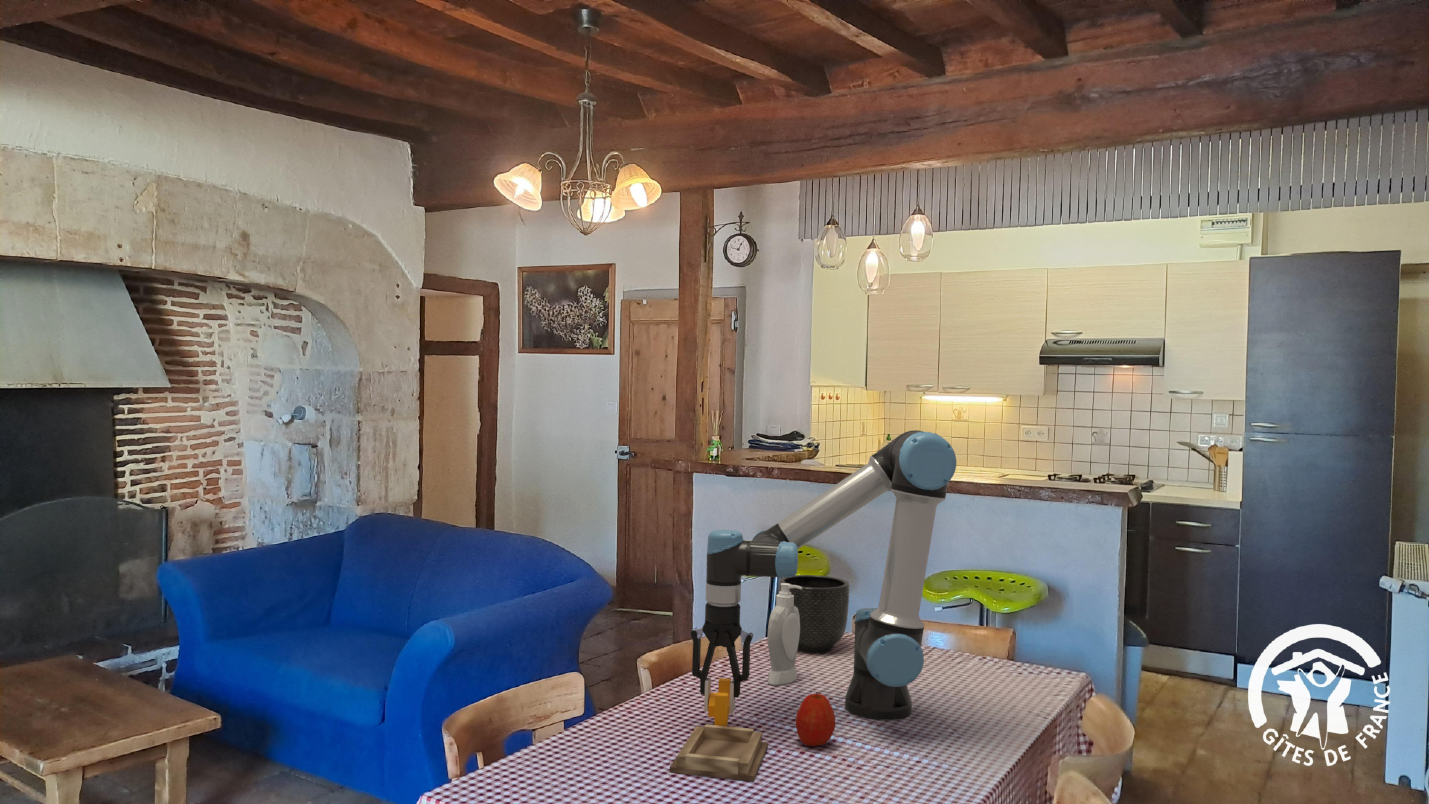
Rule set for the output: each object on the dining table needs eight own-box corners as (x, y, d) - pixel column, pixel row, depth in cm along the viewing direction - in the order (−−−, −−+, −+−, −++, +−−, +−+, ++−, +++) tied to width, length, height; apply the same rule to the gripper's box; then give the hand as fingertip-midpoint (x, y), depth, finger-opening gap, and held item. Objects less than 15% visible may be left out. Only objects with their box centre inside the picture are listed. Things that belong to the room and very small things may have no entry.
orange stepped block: (710, 707, 212) (711, 677, 212) (730, 708, 211) (731, 678, 211) (705, 726, 200) (706, 694, 200) (726, 727, 199) (727, 696, 199)
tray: (767, 747, 197) (768, 730, 197) (753, 781, 179) (754, 763, 179) (691, 739, 200) (691, 722, 200) (669, 772, 182) (670, 754, 182)
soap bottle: (783, 691, 234) (786, 590, 234) (758, 684, 239) (761, 585, 239) (814, 680, 244) (817, 583, 244) (789, 673, 249) (792, 578, 249)
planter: (774, 655, 266) (776, 585, 266) (781, 637, 286) (782, 573, 285) (846, 660, 263) (848, 590, 263) (848, 642, 282) (850, 577, 282)
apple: (824, 754, 194) (825, 700, 193) (787, 745, 198) (788, 693, 198) (841, 742, 201) (842, 690, 200) (805, 734, 205) (806, 683, 205)
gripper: (766, 602, 210) (763, 709, 211) (686, 596, 214) (683, 701, 214) (761, 609, 203) (757, 720, 203) (678, 603, 207) (675, 712, 207)
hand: (719, 710), depth 209 cm, fingers closed on orange stepped block, 5 cm apart
